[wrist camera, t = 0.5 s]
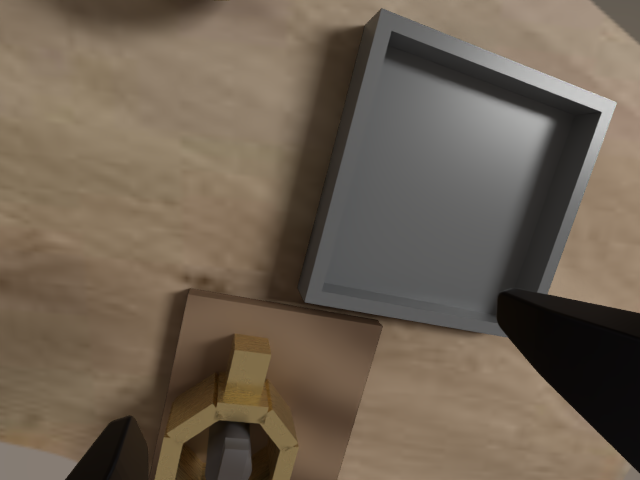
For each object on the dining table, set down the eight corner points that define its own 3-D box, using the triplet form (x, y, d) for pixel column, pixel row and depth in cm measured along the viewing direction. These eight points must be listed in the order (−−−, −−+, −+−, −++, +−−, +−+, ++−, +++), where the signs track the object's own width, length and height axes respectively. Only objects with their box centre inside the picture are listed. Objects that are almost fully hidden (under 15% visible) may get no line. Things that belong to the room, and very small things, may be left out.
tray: (504, 325, 28) (530, 341, 25) (297, 287, 24) (304, 302, 21) (580, 107, 25) (617, 102, 23) (365, 24, 21) (381, 8, 19)
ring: (273, 480, 25) (278, 522, 22) (156, 474, 23) (146, 519, 20) (309, 344, 24) (320, 370, 21) (188, 326, 22) (181, 352, 19)
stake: (331, 476, 27) (353, 549, 22) (152, 467, 24) (130, 549, 19) (377, 319, 25) (412, 360, 20) (190, 288, 22) (177, 327, 17)
